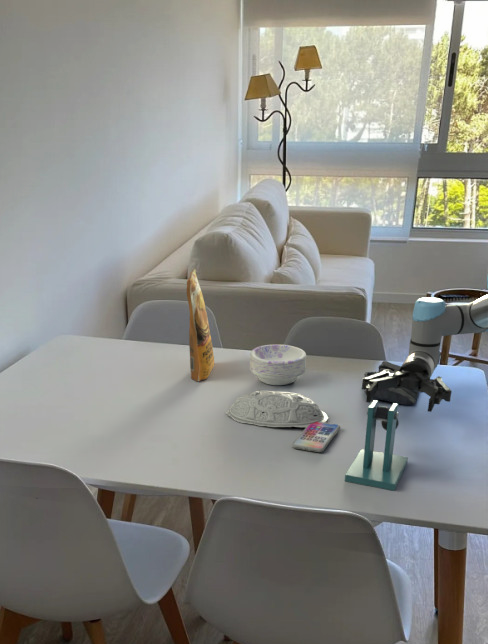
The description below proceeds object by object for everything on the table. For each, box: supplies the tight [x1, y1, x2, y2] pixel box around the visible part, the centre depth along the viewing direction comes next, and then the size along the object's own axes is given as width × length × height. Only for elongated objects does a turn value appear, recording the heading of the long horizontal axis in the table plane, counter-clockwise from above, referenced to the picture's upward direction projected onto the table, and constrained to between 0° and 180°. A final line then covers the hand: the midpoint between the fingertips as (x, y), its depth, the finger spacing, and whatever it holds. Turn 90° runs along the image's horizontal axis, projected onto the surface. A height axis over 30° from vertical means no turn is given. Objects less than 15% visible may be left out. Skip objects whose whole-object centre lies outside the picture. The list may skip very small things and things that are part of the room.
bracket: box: [344, 399, 409, 492], centre depth 142 cm, size 13×10×15 cm
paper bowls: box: [249, 344, 307, 386], centre depth 193 cm, size 15×15×8 cm
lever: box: [375, 405, 400, 432], centre depth 145 cm, size 14×4×4 cm
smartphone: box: [291, 421, 341, 453], centre depth 160 cm, size 7×1×15 cm
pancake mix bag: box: [186, 268, 215, 382], centre depth 194 cm, size 7×19×28 cm, turn 171°
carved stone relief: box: [225, 390, 329, 428], centre depth 171 cm, size 16×25×7 cm, turn 73°
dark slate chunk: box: [363, 360, 420, 406], centre depth 187 cm, size 15×22×5 cm
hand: (398, 401), depth 156 cm, fingers open, 13 cm apart
